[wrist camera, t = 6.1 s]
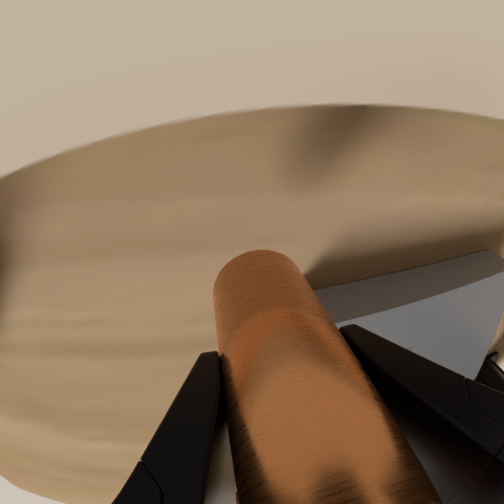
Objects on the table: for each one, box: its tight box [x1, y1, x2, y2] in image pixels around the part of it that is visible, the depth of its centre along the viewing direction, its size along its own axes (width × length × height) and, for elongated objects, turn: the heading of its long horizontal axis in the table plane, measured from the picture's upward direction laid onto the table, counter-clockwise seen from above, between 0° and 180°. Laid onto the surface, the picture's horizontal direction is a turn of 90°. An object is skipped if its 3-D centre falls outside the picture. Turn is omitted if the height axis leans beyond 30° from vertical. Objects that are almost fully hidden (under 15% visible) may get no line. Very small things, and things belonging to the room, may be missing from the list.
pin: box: [213, 250, 443, 504], centre depth 6 cm, size 3×3×9 cm
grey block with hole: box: [313, 249, 504, 380], centre depth 19 cm, size 18×12×4 cm, turn 96°
